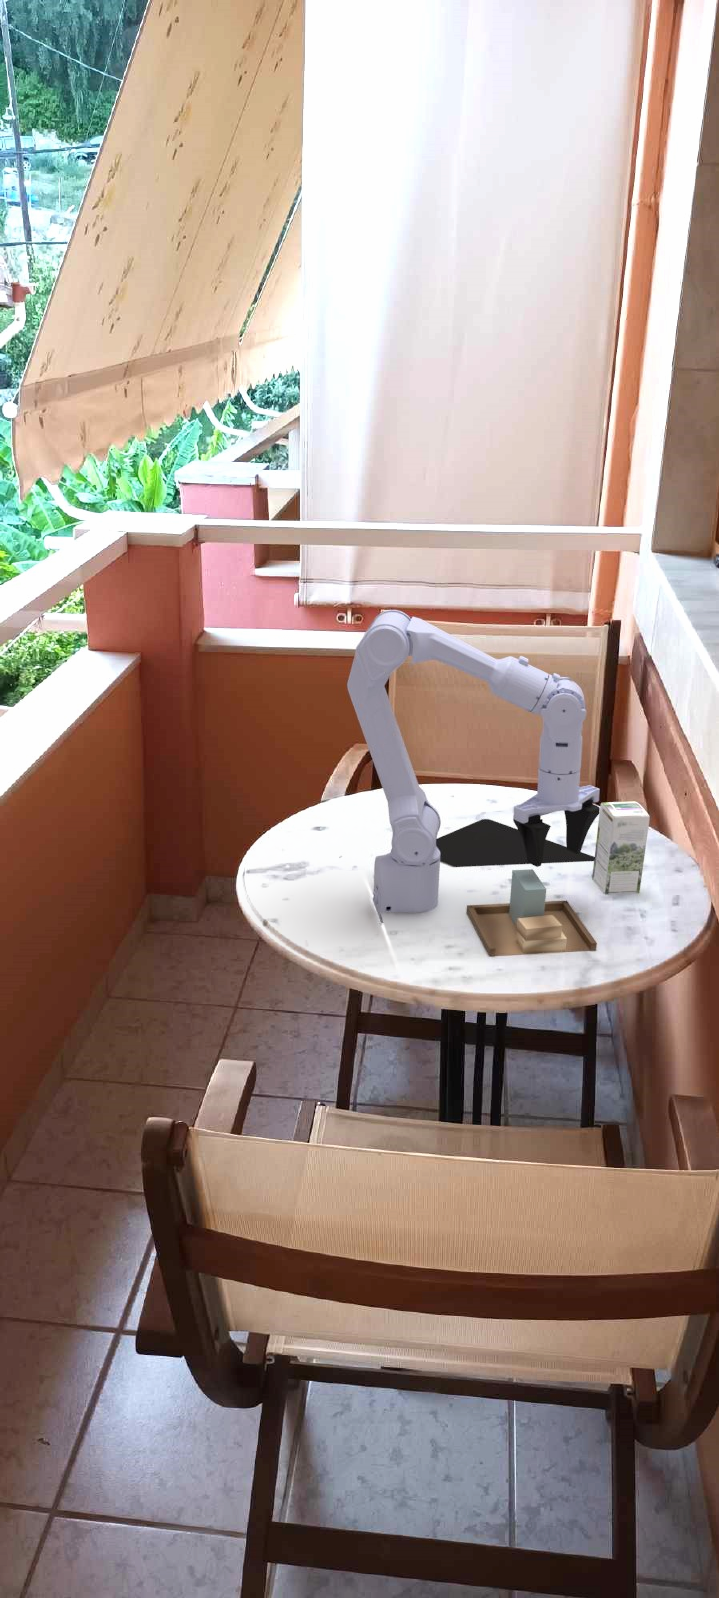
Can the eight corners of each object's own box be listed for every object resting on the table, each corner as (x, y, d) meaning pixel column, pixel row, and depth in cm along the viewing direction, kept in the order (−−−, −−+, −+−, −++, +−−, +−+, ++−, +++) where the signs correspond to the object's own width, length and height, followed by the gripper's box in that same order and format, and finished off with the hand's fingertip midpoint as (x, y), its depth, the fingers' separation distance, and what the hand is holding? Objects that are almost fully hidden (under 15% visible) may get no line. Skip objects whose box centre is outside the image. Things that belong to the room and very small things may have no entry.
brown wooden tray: (488, 965, 155) (489, 948, 154) (465, 921, 167) (467, 905, 166) (595, 959, 157) (596, 943, 156) (565, 916, 169) (566, 900, 168)
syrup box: (625, 885, 179) (635, 799, 174) (639, 902, 174) (650, 813, 168) (590, 887, 178) (599, 800, 173) (603, 904, 173) (613, 815, 168)
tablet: (410, 849, 190) (484, 817, 203) (410, 852, 190) (484, 821, 204) (545, 903, 173) (616, 864, 186) (545, 907, 173) (616, 868, 187)
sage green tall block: (521, 935, 160) (525, 890, 157) (508, 914, 166) (512, 870, 163) (542, 934, 160) (546, 889, 158) (529, 913, 166) (532, 869, 164)
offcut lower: (522, 952, 155) (523, 940, 154) (516, 940, 158) (517, 929, 158) (565, 950, 156) (566, 938, 155) (557, 938, 159) (558, 926, 158)
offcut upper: (525, 941, 154) (526, 929, 154) (516, 930, 157) (517, 918, 157) (561, 937, 156) (562, 925, 155) (551, 926, 159) (552, 914, 158)
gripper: (540, 786, 151) (535, 879, 156) (617, 765, 159) (610, 854, 164) (505, 772, 157) (501, 862, 162) (581, 752, 165) (575, 839, 169)
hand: (554, 857), depth 163 cm, fingers open, 7 cm apart
